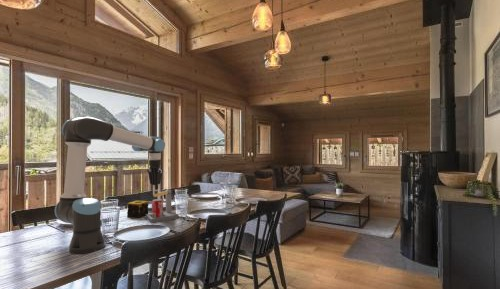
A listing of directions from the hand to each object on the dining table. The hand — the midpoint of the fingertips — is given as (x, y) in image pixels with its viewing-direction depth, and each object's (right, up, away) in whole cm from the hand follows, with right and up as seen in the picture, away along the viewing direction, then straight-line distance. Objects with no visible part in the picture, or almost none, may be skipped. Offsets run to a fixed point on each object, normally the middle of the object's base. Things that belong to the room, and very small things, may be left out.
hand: (155, 194), depth 186 cm
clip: (+4, -1, +3) cm, 5 cm away
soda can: (+2, -17, -1) cm, 17 cm away
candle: (-14, -17, +7) cm, 23 cm away
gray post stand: (+4, -16, +1) cm, 17 cm away
